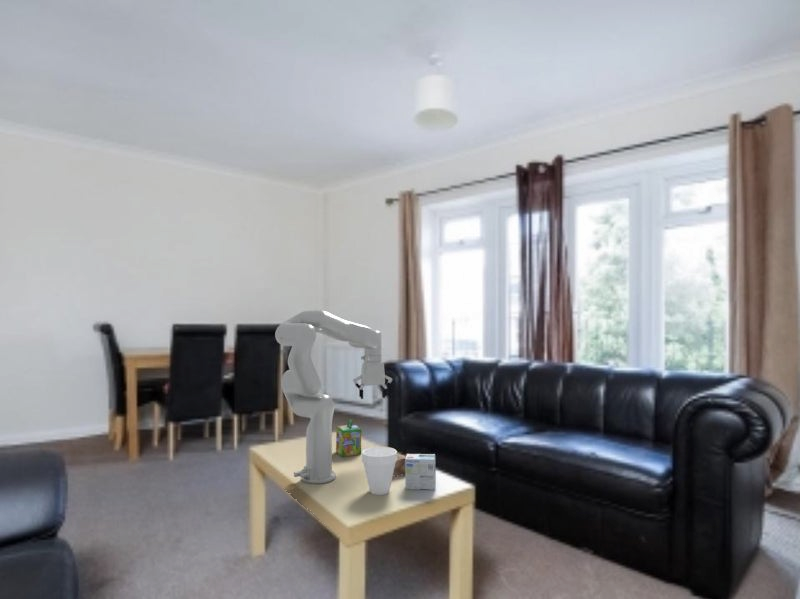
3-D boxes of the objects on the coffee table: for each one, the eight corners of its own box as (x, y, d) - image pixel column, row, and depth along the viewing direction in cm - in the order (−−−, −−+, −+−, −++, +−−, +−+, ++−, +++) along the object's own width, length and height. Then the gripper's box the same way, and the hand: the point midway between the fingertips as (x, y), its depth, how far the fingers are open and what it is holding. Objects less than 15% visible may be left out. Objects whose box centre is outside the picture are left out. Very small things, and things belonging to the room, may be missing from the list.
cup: (378, 482, 170) (378, 444, 171) (404, 490, 163) (404, 450, 163) (354, 492, 161) (354, 452, 161) (381, 500, 153) (380, 459, 154)
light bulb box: (436, 483, 169) (435, 453, 169) (435, 490, 162) (435, 459, 162) (406, 482, 170) (406, 452, 170) (405, 489, 163) (404, 458, 163)
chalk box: (335, 452, 209) (335, 418, 210) (355, 449, 213) (354, 416, 214) (342, 457, 201) (341, 423, 201) (362, 454, 205) (361, 420, 205)
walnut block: (395, 476, 177) (395, 460, 177) (386, 472, 181) (386, 456, 182) (408, 473, 180) (407, 457, 180) (398, 469, 185) (398, 454, 185)
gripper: (354, 360, 198) (354, 400, 198) (393, 359, 202) (393, 398, 201) (352, 358, 206) (352, 397, 205) (390, 357, 209) (390, 396, 209)
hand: (372, 398), depth 203 cm, fingers open, 9 cm apart
